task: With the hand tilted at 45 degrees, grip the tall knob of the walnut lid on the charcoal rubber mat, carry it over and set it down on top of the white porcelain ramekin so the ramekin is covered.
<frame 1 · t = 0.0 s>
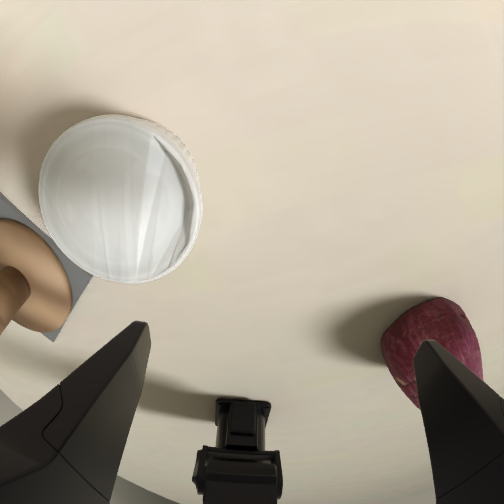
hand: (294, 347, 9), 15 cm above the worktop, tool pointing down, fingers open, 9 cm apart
rubber mat: (24, 273, 26), on the worktop
vegetable: (423, 334, 29), on the worktop
ramekin: (138, 180, 22), on the worktop
walnut lid: (22, 276, 26), point 1 cm above the worktop, touching rubber mat
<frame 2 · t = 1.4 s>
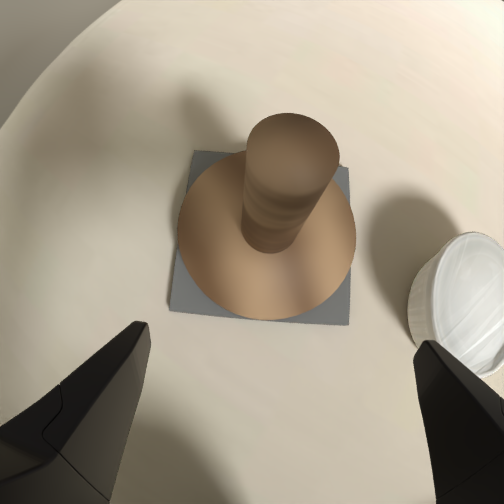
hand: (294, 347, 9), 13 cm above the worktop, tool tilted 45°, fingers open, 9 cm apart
rubber mat: (266, 234, 24), on the worktop
ramekin: (445, 311, 24), on the worktop
walnut lid: (267, 231, 24), point 1 cm above the worktop, touching rubber mat
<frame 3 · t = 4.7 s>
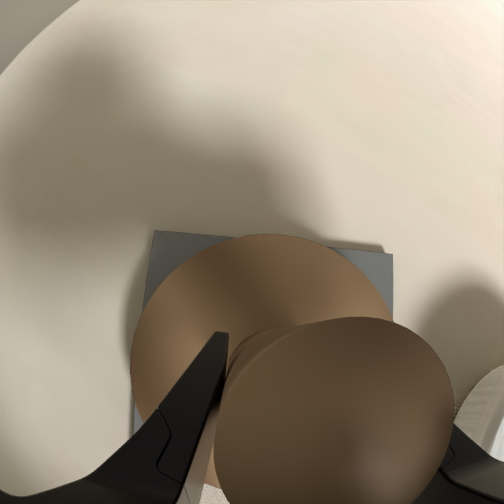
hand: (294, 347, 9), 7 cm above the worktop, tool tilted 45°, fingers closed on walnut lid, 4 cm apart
rubber mat: (267, 369, 15), on the worktop
ramekin: (487, 429, 15), on the worktop
walnut lid: (269, 370, 15), point 1 cm above the worktop, touching gripper, rubber mat
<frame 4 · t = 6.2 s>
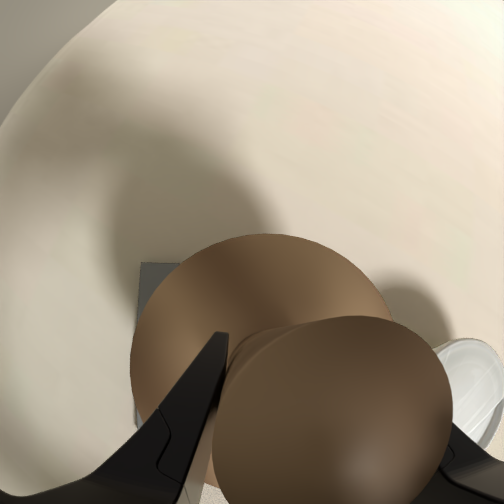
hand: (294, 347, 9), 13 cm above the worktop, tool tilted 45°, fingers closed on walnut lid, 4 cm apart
rubber mat: (226, 355, 22), on the worktop
ramekin: (423, 404, 22), on the worktop
walnut lid: (268, 370, 15), point 7 cm above the worktop, touching gripper
when the fingers open (12 cm above the worktop, at t = 7.9 s): walnut lid stays where it is, resting on ramekin.
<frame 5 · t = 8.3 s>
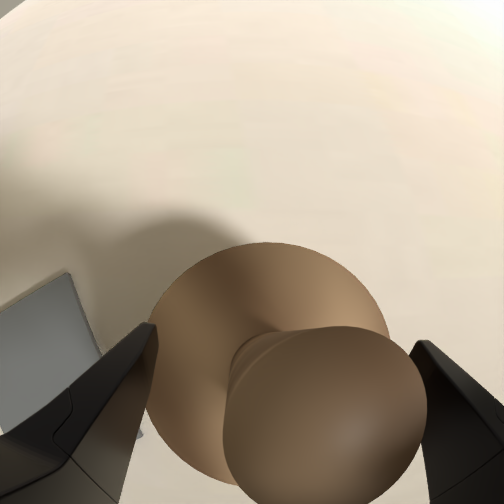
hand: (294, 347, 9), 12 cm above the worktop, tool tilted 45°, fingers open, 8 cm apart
rubber mat: (39, 383, 19), on the worktop
walnut lid: (268, 370, 16), point 5 cm above the worktop, touching ramekin
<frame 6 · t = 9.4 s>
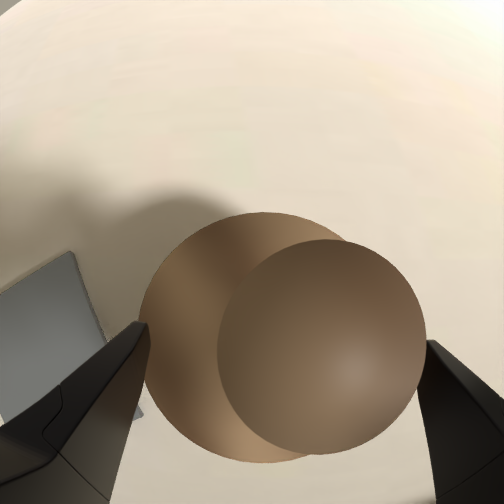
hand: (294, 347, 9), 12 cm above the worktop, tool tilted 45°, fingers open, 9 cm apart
rubber mat: (39, 363, 19), on the worktop
walnut lid: (267, 339, 16), point 5 cm above the worktop, touching ramekin
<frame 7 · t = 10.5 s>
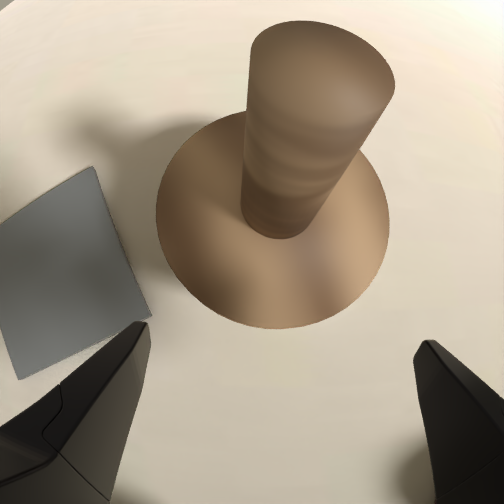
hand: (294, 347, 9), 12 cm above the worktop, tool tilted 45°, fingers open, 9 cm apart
rubber mat: (50, 273, 21), on the worktop
walnut lid: (275, 211, 18), point 5 cm above the worktop, touching ramekin
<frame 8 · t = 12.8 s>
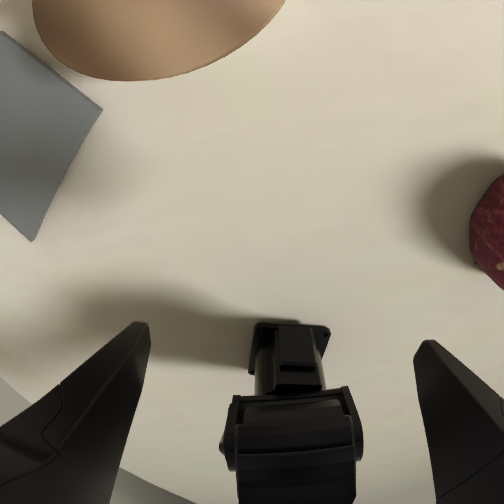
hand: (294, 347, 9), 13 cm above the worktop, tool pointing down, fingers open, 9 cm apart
rubber mat: (9, 135, 18), on the worktop
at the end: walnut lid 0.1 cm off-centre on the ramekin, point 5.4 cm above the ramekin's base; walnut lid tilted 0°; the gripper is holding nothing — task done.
